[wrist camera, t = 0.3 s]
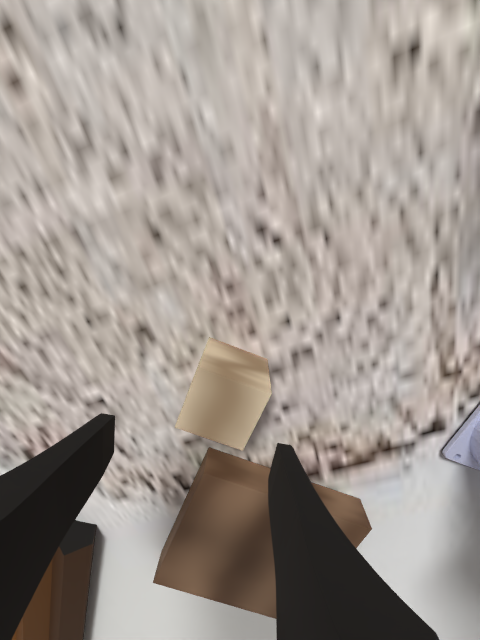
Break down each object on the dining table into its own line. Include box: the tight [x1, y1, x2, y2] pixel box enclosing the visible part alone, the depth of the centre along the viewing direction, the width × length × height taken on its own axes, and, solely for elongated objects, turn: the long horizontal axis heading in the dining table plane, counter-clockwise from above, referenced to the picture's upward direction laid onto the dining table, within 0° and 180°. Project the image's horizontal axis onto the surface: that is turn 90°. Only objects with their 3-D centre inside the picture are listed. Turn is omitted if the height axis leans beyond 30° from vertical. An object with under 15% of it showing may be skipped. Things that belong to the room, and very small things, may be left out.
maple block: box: [175, 337, 272, 451], centre depth 19 cm, size 4×4×4 cm
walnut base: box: [153, 448, 372, 619], centre depth 25 cm, size 14×14×2 cm
